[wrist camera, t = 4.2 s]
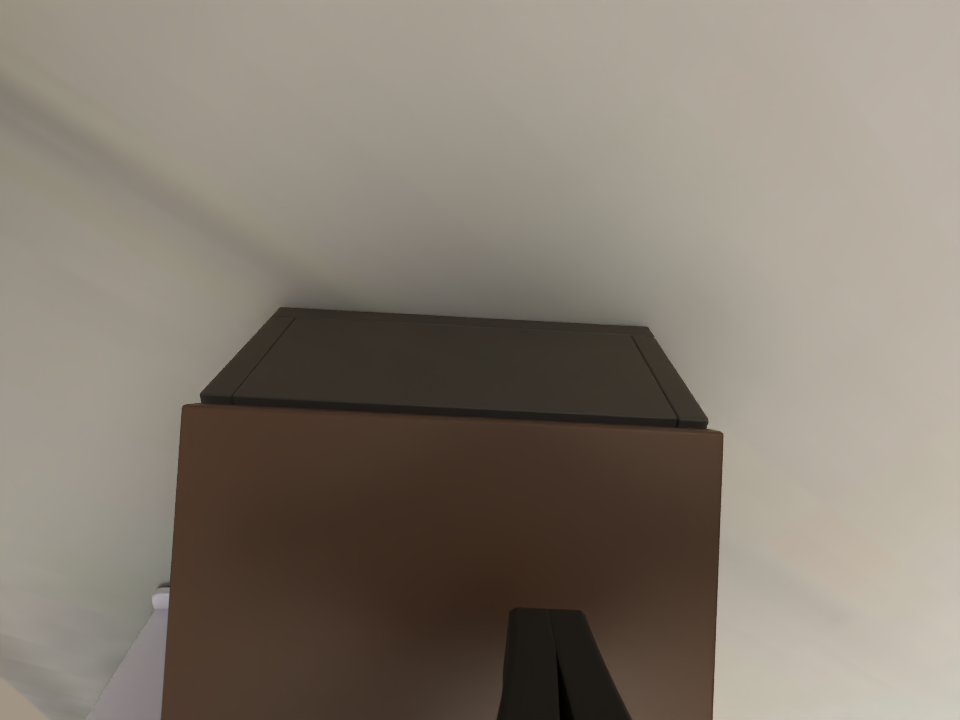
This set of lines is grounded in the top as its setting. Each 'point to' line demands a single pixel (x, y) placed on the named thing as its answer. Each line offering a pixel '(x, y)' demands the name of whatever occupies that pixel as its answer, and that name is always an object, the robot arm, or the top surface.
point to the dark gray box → (457, 369)
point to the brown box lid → (432, 560)
